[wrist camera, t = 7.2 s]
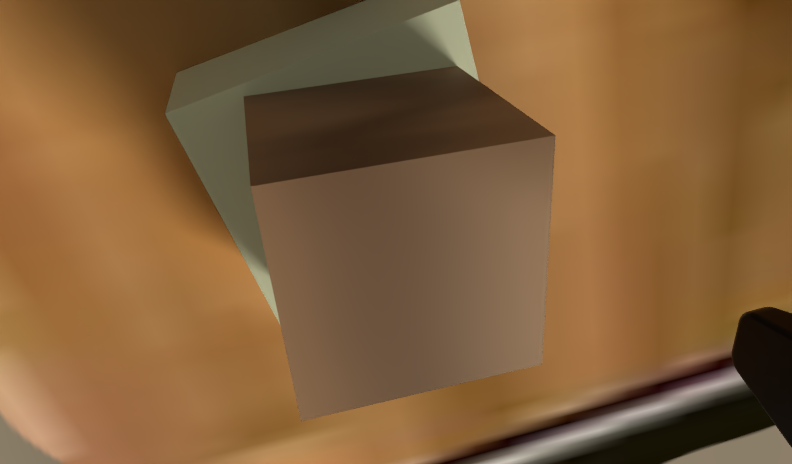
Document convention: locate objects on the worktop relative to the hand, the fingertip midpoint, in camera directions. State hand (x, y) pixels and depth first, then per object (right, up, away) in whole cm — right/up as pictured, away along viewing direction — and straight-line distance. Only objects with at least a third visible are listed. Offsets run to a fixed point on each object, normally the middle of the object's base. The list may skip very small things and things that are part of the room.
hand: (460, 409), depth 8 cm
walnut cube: (-2, +4, +7) cm, 8 cm away
